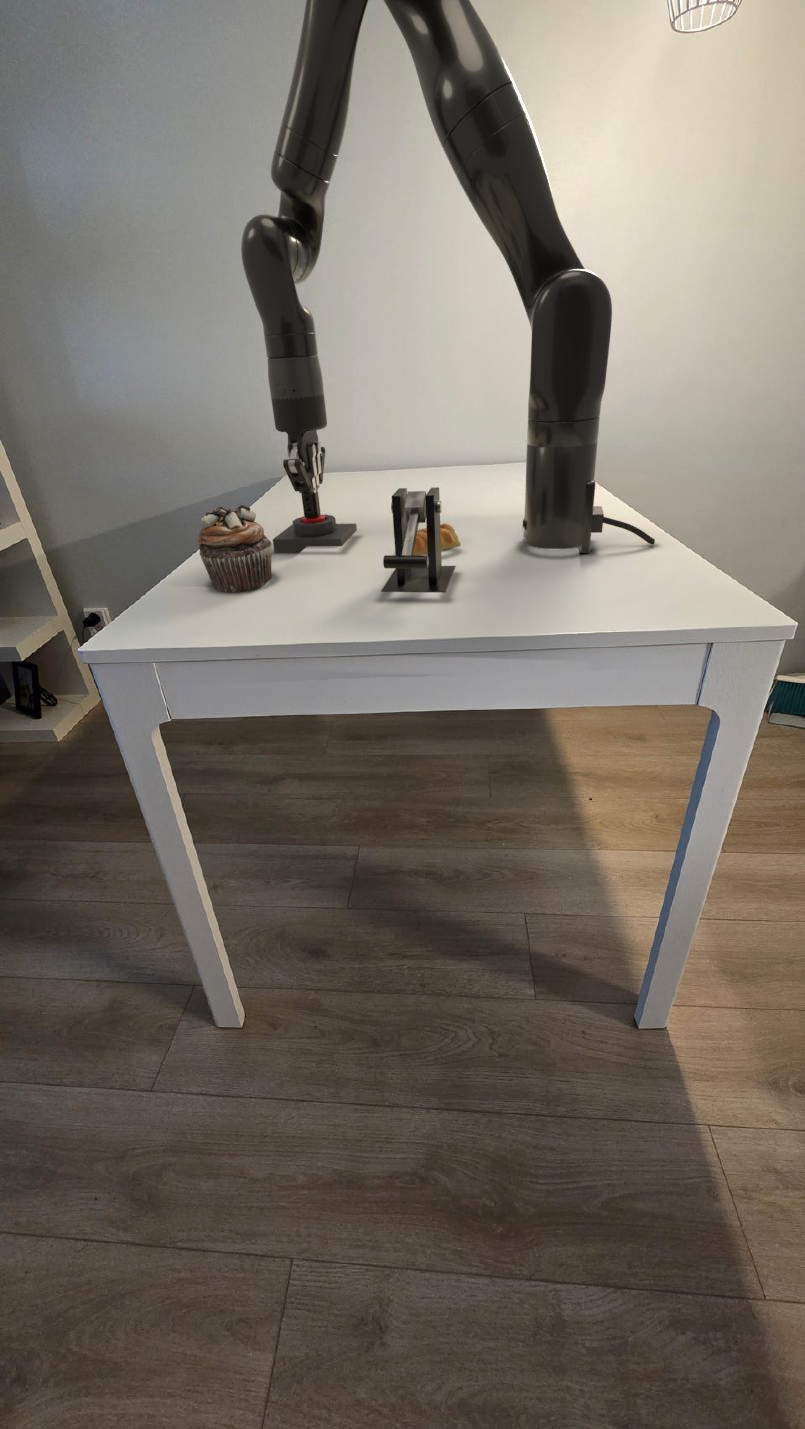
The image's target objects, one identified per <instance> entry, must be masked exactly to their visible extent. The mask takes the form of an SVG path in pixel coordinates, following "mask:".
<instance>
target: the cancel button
mask: <svg viewBox="0 0 805 1429" xmlns="http://www.w3.org/2000/svg"><path fill="white" fill-rule="evenodd" d="M325 515H326V514H321V513H320V515H319V516H318V517H317V518H305V516H304V515H303V516H304V517H303V516H302V517H303V518H302V522H303V523H317V522H322V521H326V519H325Z"/></svg>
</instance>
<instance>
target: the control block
mask: <svg viewBox="0 0 805 1429" xmlns="http://www.w3.org/2000/svg"><path fill="white" fill-rule="evenodd" d="M324 515H325V519H326V521H322V522H317V523H303V522H302V518H303V517H304V515H303V516H301V517H297V518H295V519H294V520H292V524H290V526H288V527H287V528H285V529H284V530H282V532H280V533H278V535H276V536H275V537H274V538H272V547H273V552H274V553H275V554H300V553H302V551H304V550H305V549H306V548H307V547H343V546H344V545H345V544H346V542H347V541H349V539H351V537H352V536H353V535H354V534H355V533H356V532H357V530H358V529H357V528H358V527H357V523H337V520H336V517H335V516H334V515H330V514H324Z"/></svg>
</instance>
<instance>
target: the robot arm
mask: <svg viewBox="0 0 805 1429" xmlns="http://www.w3.org/2000/svg"><path fill="white" fill-rule="evenodd" d="M383 2H384V3H385V6H386V7H387V9H388V11H389V13H390V15H391V16H392V18H393V20H394V22H395V23H396V26H397V28H398V29H399V31H400V33H401V35H402V37H403V39H404V41H405V44H406V46H407V48H408V50H409V53H410V56H411V58H412V61H413V65H414V67H415V71H416V74H417V77H418V81H419V85H420V89H421V92H422V96H423V99H424V102H425V106H426V109H427V112H428V114H429V118H430V120H431V123H432V126H433V129H434V131H435V133H436V136H437V138H438V141H439V143H440V146H441V148H442V149H443V152H444V154H445V156H446V158H447V160H448V162H449V164H450V166H451V168H452V171H453V172H454V174H455V177H456V180H458V181H457V182H458V183H459V185H460V186H461V188H462V190H463V192H464V193H465V194H464V195H466V197H467V200H468V201H469V203H470V204H471V206H472V208H473V210H474V211H475V213H476V215H477V217H478V218H479V220H480V221H481V224H482V225H483V226H484V228H485V229H486V231H487V232H488V234H489V236H490V237H491V239H492V240H493V242H494V243H495V246H497V249H498V250H499V252H500V253H501V255H502V257H503V258H504V260H505V263H506V265H507V267H508V270H509V271H510V273H511V275H512V278H513V281H514V283H515V286H516V288H517V291H518V294H519V296H520V299H521V302H522V304H523V308H524V310H525V313H526V316H527V319H528V322H529V326H530V330H531V344H530V347H531V348H530V372H529V375H530V376H529V388H528V402H527V403H528V404H527V434H526V435H527V437H526V459H525V460H526V462H525V464H526V465H525V488H524V490H525V491H524V516H523V519H522V520H523V521H522V531H523V539H522V543H523V544H524V545H525V546H528V547H531V548H534V549H540V550H550V551H558V550H559V551H561V550H562V551H563V550H573V549H577V548H578V554H589V553H590V552H591V551H590V550H591V537H592V534H595V533H597V534H602V533H603V528H604V524H606V525H609V526H613V527H616V528H620V529H623V530H626V531H629V532H630V533H633V534H634V535H636V536H638V537H639V538H641V539H642V540H643V541H645V542H646V543H647V544H650V545H652V546H653V545H655V543H656V539H655V538H654V537H652V536H650V535H649V534H648V533H646V532H645V531H643V529H640V528H638V527H637V526H634V525H633V524H630V523H627V522H624V521H621V520H617V519H614V518H610V517H607V516H605V514H604V510H603V507H602V505H601V506H600V505H595V493H596V480H595V475H596V465H597V455H598V453H597V452H598V444H599V442H598V441H599V430H600V418H601V417H600V416H601V408H602V401H603V396H604V392H605V389H606V382H607V373H608V372H607V371H608V362H609V355H610V354H609V353H610V343H611V334H612V333H611V332H612V322H613V303H612V297H611V294H610V293H611V292H610V291H609V288H608V286H607V285H606V283H605V282H604V280H603V279H602V278H601V277H600V276H598V275H597V274H596V273H594V272H592V271H590V270H588V269H586V268H585V267H584V265H583V263H582V262H581V260H580V257H579V256H578V254H577V252H576V250H575V248H574V246H573V245H572V243H571V240H570V239H569V237H568V235H567V233H566V231H565V229H564V226H563V224H562V221H561V218H560V217H559V214H558V210H557V207H556V203H555V200H554V195H553V191H552V188H551V184H550V180H549V175H548V171H547V168H546V164H545V161H544V158H543V153H542V151H541V148H540V144H539V142H538V138H537V136H536V135H537V134H536V132H535V130H534V126H533V124H532V121H531V119H530V116H529V114H528V111H527V108H526V107H525V106H526V105H525V103H524V102H523V100H522V97H521V94H520V93H519V90H518V88H517V86H516V84H515V81H514V79H513V76H512V74H511V73H510V70H509V69H508V66H507V64H506V62H505V60H504V58H503V56H502V54H501V53H500V50H499V49H498V46H497V45H496V43H495V41H494V40H493V38H492V36H491V33H490V32H489V31H488V29H487V27H486V25H485V24H484V22H483V20H482V19H481V16H480V15H479V14H478V12H477V11H476V9H475V7H474V5H473V4H472V2H471V0H383ZM368 3H369V0H305V5H304V14H303V19H302V26H301V32H300V36H299V42H298V47H297V48H298V49H297V53H296V58H295V63H294V68H293V74H292V76H291V77H292V78H291V82H290V86H289V91H288V95H287V98H286V103H285V107H284V111H283V116H282V119H281V123H280V128H279V132H278V136H277V139H276V143H275V148H274V149H275V150H274V152H273V154H272V160H271V166H270V177H271V181H272V182H273V184H274V186H275V187H276V188H277V189H278V190H279V192H280V197H279V205H278V206H279V208H278V214H277V216H275V215H271V214H264V213H263V214H257V215H255V216H253V217H251V219H250V220H248V222H247V223H246V224H245V227H244V229H243V232H242V235H241V236H242V237H241V244H240V246H241V247H240V250H241V251H240V252H241V261H242V262H241V263H242V267H243V270H244V274H245V278H246V280H247V284H248V287H249V290H250V293H251V296H252V299H253V302H254V304H255V308H256V310H257V313H258V315H259V317H260V320H261V323H262V330H263V337H264V344H265V345H264V346H265V353H266V358H267V359H266V360H267V378H268V386H269V392H270V400H271V406H272V413H273V419H274V420H273V421H274V428H275V429H276V431H277V432H280V433H285V434H286V435H287V447H286V451H287V457H288V458H289V459H287V458H286V459H283V461H282V465H283V469H284V470H285V473H286V475H287V477H288V479H289V481H290V484H291V486H292V488H293V490H294V492H298V493H299V494H301V501H302V502H301V503H302V510H303V516H305V518H317V517H318V516H319V515H320V514H321V505H320V497H319V491H320V487H321V485H323V481H324V469H325V459H326V448H325V446H322V444H321V441H319V436H318V432H317V431H319V430H323V429H325V428H327V426H328V419H327V409H326V400H325V391H324V390H325V389H324V380H323V373H322V368H321V364H320V359H319V358H320V357H319V351H318V343H317V342H318V341H317V333H316V331H317V330H316V324H315V319H314V316H313V313H312V311H311V310H310V309H309V308H308V307H307V306H305V305H304V304H302V303H301V301H300V298H299V294H298V291H297V287H296V286H297V285H300V284H302V283H304V282H305V281H306V280H308V279H309V277H310V276H311V274H312V273H313V272H314V270H315V267H316V265H317V262H318V260H319V257H320V251H321V247H322V240H323V232H324V222H325V213H326V198H327V193H328V190H329V188H330V185H331V181H332V178H333V175H334V173H335V168H336V165H337V162H338V158H339V155H340V152H341V148H342V144H343V140H344V137H345V132H346V128H347V123H348V115H349V110H350V102H351V94H352V87H353V86H352V85H353V76H354V68H355V60H356V54H357V48H358V42H359V39H360V38H359V37H360V34H361V28H362V24H363V21H364V16H365V13H366V8H367V6H368ZM594 505H595V506H594Z"/></svg>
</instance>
